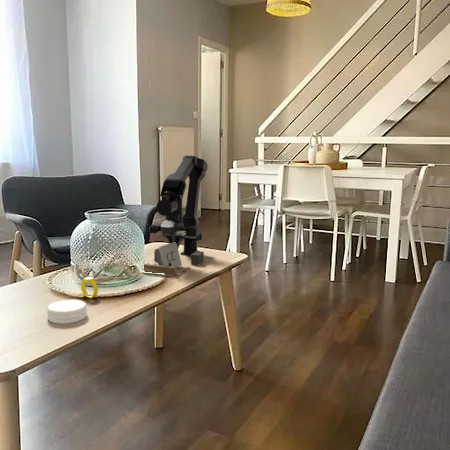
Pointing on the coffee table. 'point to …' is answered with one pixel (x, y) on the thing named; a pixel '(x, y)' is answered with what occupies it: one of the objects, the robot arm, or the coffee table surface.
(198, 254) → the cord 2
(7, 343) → the coffee table surface
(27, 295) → the coffee table surface
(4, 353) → the coffee table surface
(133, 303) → the coffee table surface
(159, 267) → the bay
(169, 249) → the electrical switch
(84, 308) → the coaster
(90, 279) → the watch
